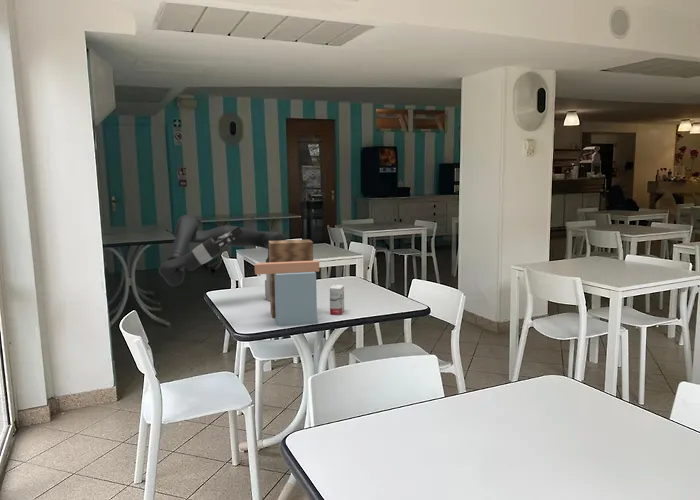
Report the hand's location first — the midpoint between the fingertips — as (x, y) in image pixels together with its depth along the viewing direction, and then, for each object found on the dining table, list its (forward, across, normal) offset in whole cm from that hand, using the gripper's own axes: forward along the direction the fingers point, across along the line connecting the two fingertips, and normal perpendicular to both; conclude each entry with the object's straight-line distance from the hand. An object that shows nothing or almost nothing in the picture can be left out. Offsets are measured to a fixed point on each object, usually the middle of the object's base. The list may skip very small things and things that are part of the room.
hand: (240, 229), depth 224 cm
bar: (+6, -6, +24) cm, 26 cm away
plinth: (-2, +7, +44) cm, 44 cm away
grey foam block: (-2, -6, +44) cm, 44 cm away
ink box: (+15, +4, +54) cm, 56 cm away
